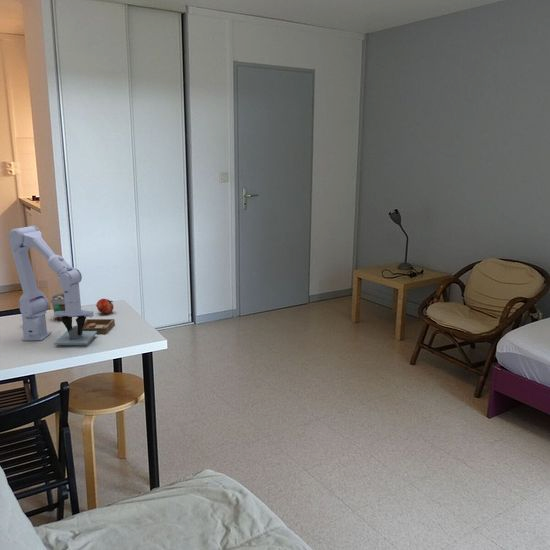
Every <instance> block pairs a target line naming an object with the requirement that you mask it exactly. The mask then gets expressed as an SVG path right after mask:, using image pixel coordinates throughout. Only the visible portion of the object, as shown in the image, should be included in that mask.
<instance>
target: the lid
mask: <svg viewBox="0 0 550 550" xmlns="http://www.w3.org/2000/svg"><path fill="white" fill-rule="evenodd" d="M96 335H98V334H97V331H82V334H81V335H78V327H77V325H72V328H71V329H70V330H69V333H68V331H67V330H66V331H64V333H62V335H60V336H59V338H57V339H56V340H55V342H54V344H53V345H55V346H66V345H67V346H68V345H69V346H72V345H74V346H76V345H77V346H78V345H79V346H80V345H82V346H83V345H84V346H85V345H88V344H89V343H90V342H91V341H92V339H93V338H95V336H96Z"/></svg>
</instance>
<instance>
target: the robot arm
mask: <svg viewBox="0 0 550 550" xmlns="http://www.w3.org/2000/svg"><path fill="white" fill-rule="evenodd" d="M7 237H8V241H9V245H10V250H11V255H12V258H13V261H14V265H15V268H16V272H17V275H18V279H19V283H20V287H21V289H22V295H20V297H19V299H18V301H19V311H20V314H21V316H22V315H23V316H24V317H26V319H25V321H24V323H23V322H22V331H23V332H22V333H23V338H21V341H44V339H46V338H47V336H49V335H50V334H51V333H52V331H48V330H47V329H48V326H47V319H46V314H47V310H48V309H49V306H50V303H49V301H48V298H46V295H45V293H44V292H43V291H41V290H39V288H38V284H37V281H36V278H35V274H34V270H33V266H32V263H31V260H30V256H29V253H28V252H29V250H30V248H35V250H36V251H37V252H38V253H40V255H41V256H43V257H44V259H46V260H47V265H48V267H49V268H50V269H51V270H52V271H53V273H55V274H56V276H57V277H58V282H59V284H60V285H61V289H62V291H63V293H64V301H65V311H55V312H54V311H53V318H55V317H62V319H61V321H60V322H62V323H63V325H64V326H65V328H66V331H68V333H69V330H70V329H71V328H72V327H73V318H75V323H76V326H77V327H78V335H81V334H82V329H83V325H84V322H85V320H86V319H87V318H93V317H94V315H95V314H94V311H93V310H84V309H83V310H82V305H81V304H82V303H81V291H80V283H81V281H82V280H83V279H82V278H83V277H82V276H83V275H82V273H81V272H80V270H79V269H78V268H74V267H73V266H71V265H70V264H69V263H68V262H67V261H66V260H65V258H64V257H63V256H61V255H60V254H55V252H54V251H53V250H52V248H51V247H50V246H49V245H48V243H47V242H46V241H45V240H44V239H43V233H42V232H41V231H40V230H39V228H38V227H36V226H35V225H30V226H25V227H19V228H12V229H11V230H10V232H9V234H8V235H7ZM32 298H34V299H32Z"/></svg>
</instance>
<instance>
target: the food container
mask: <svg viewBox="0 0 550 550" xmlns="http://www.w3.org/2000/svg"><path fill="white" fill-rule="evenodd" d="M50 303H51V304H52V309H53V313H54V312H55V311H65V301H64V292H62V293H55V294H53V295H52V296H51V298H50ZM54 319H55V321H58V322H62V321H61V319H62V317H54Z"/></svg>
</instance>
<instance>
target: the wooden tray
mask: <svg viewBox="0 0 550 550" xmlns="http://www.w3.org/2000/svg"><path fill="white" fill-rule="evenodd" d="M115 325H116V322H115V319H114V318H95V319H94V318H92V319H91V318H86V319H85V322H84V325H83V329H82V331H97V334H96V335H107V334H108V333H109V332H110V331H111V330H112V328H113V327H114V326H115Z"/></svg>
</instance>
